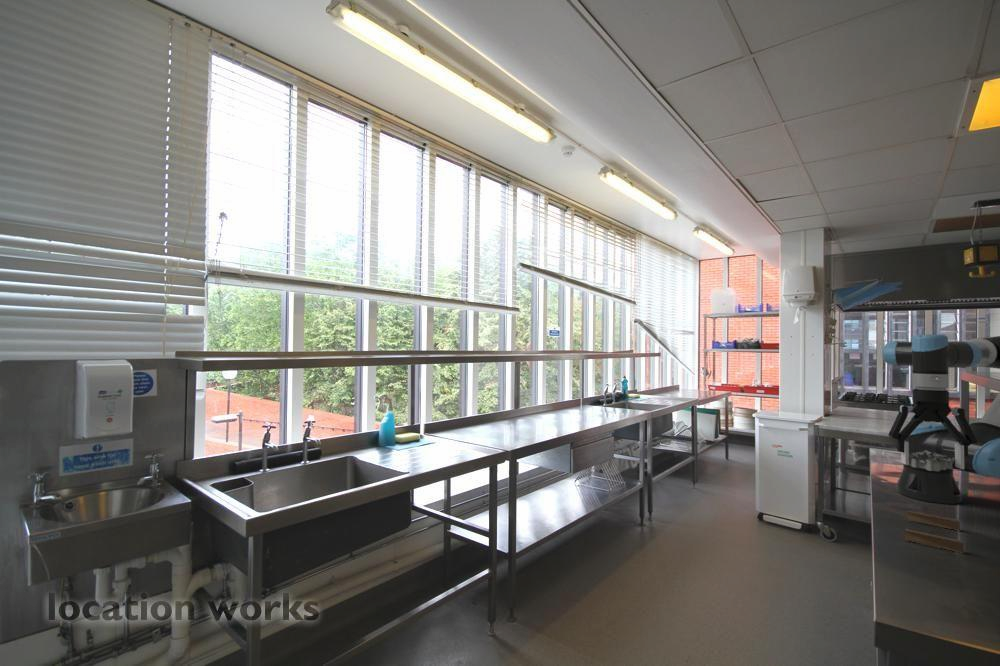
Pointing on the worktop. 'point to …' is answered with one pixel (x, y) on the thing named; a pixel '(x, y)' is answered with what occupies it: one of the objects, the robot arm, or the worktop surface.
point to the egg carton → (930, 461)
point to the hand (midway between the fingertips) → (931, 465)
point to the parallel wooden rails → (933, 539)
